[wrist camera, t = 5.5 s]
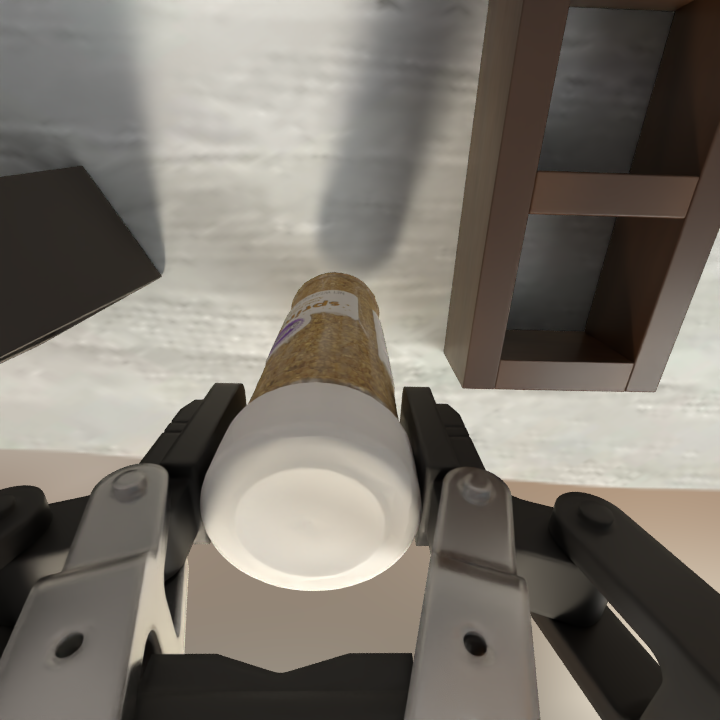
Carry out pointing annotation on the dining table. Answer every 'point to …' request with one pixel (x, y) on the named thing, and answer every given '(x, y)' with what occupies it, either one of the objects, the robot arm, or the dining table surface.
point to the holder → (586, 207)
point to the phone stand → (60, 256)
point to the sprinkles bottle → (317, 452)
